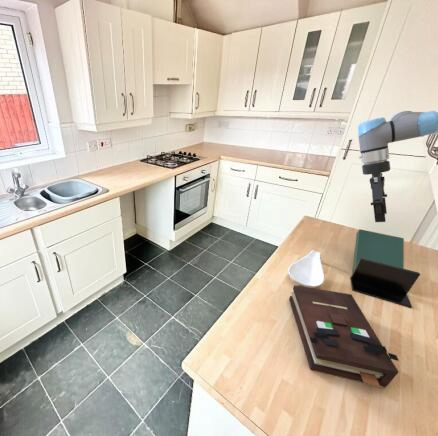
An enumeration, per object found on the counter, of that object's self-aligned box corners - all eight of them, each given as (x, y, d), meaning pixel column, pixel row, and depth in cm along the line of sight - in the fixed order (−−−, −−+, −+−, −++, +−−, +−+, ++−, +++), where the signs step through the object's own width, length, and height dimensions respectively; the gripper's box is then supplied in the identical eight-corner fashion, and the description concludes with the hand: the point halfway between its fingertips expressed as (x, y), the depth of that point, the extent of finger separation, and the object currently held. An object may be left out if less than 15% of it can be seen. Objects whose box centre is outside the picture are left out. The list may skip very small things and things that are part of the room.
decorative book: (353, 288, 80) (413, 382, 55) (345, 304, 84) (397, 399, 58) (289, 278, 85) (317, 360, 59) (283, 293, 88) (307, 377, 63)
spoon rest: (317, 297, 86) (323, 282, 83) (281, 282, 93) (286, 268, 90) (329, 265, 102) (335, 251, 98) (297, 254, 109) (302, 240, 105)
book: (399, 241, 98) (403, 237, 96) (398, 286, 90) (403, 283, 88) (356, 232, 105) (359, 228, 103) (352, 273, 97) (355, 271, 94)
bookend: (404, 293, 87) (419, 272, 82) (411, 308, 82) (426, 286, 77) (349, 278, 95) (360, 257, 90) (352, 290, 89) (363, 269, 84)
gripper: (364, 162, 101) (370, 211, 103) (358, 167, 84) (365, 226, 87) (390, 157, 96) (395, 210, 98) (388, 162, 79) (394, 225, 81)
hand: (381, 217), depth 92 cm, fingers open, 13 cm apart
